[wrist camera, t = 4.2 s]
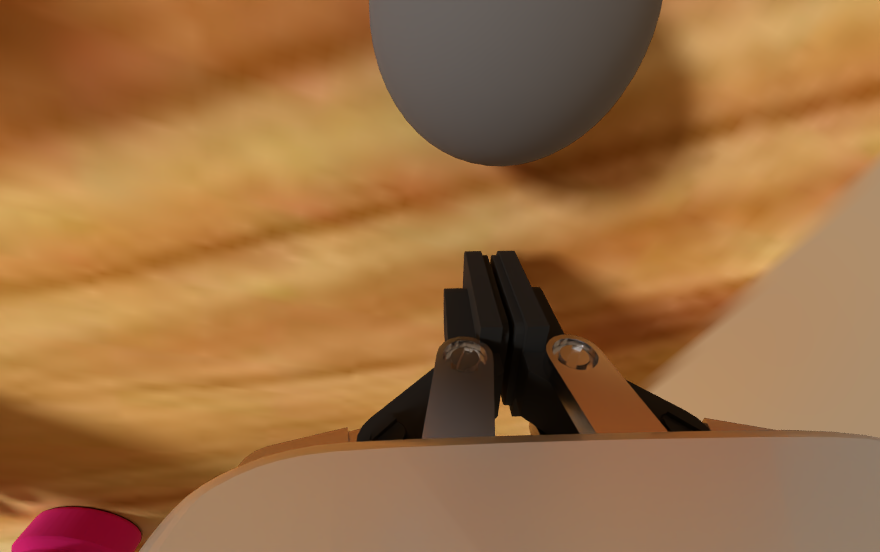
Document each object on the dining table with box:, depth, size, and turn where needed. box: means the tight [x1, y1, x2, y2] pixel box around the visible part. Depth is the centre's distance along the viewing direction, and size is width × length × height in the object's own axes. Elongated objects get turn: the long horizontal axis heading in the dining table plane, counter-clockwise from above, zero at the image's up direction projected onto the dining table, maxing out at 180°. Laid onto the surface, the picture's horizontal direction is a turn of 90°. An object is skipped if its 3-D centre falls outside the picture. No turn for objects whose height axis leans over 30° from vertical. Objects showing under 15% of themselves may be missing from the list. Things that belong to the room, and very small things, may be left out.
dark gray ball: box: [369, 0, 662, 166], centre depth 7 cm, size 6×6×6 cm
